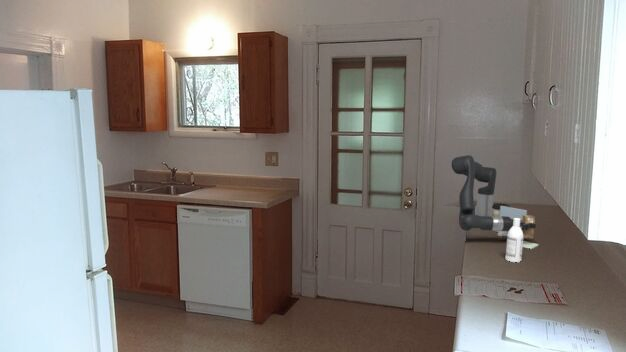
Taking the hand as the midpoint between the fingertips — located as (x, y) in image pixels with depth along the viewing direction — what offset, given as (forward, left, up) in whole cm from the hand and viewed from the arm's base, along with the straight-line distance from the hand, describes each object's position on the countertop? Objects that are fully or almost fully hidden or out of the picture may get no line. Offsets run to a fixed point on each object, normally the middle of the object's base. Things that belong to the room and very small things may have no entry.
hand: (533, 224), depth 255 cm
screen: (-14, +7, -11) cm, 19 cm away
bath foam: (+4, -31, -11) cm, 33 cm away
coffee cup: (-24, +14, -11) cm, 30 cm away
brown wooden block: (-2, -2, -6) cm, 7 cm away
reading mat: (-2, -2, -11) cm, 11 cm away
